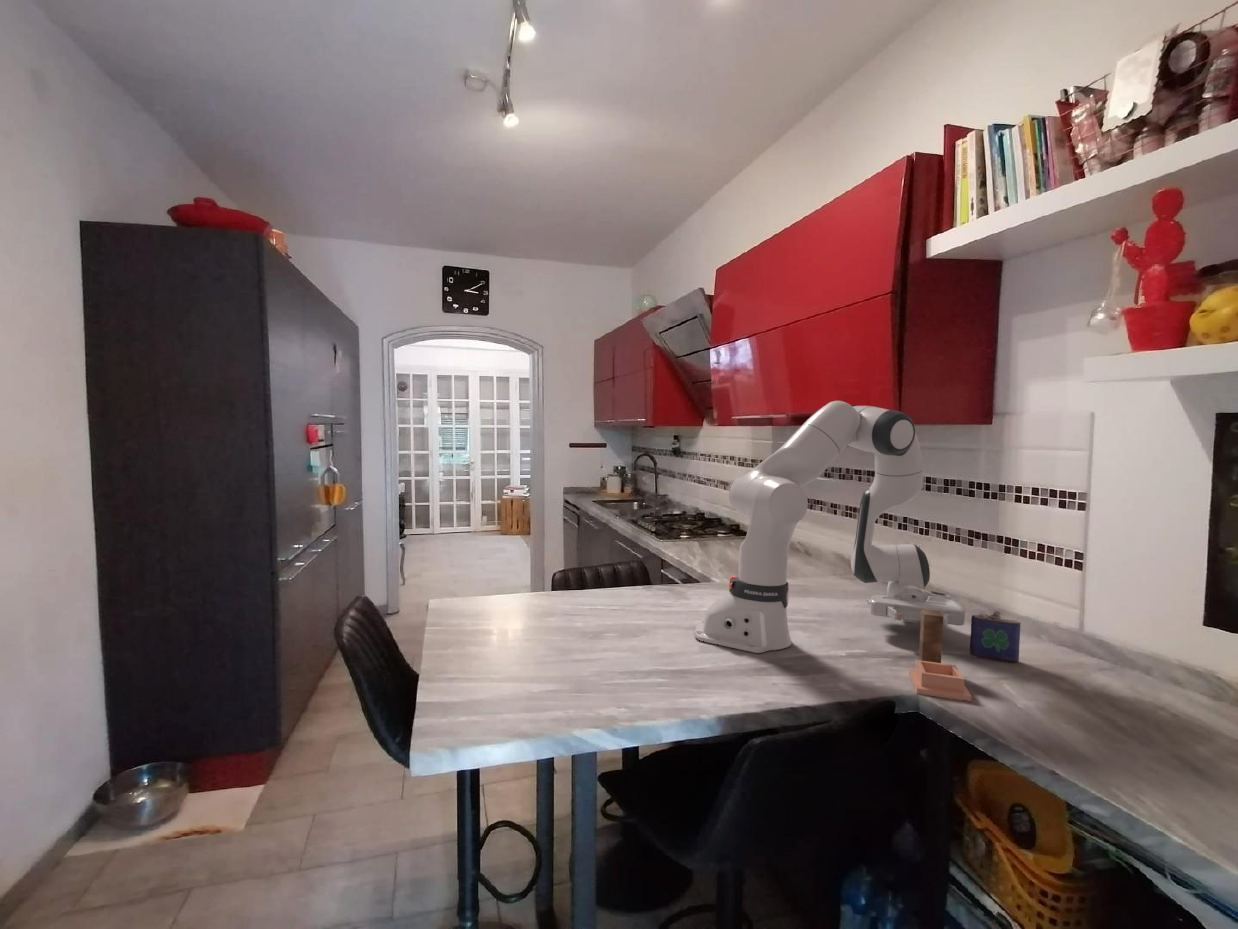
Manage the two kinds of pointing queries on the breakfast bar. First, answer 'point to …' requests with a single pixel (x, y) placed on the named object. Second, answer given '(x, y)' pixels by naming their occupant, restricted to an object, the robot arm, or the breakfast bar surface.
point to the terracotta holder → (938, 680)
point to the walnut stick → (931, 636)
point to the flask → (995, 638)
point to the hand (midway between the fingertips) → (920, 619)
